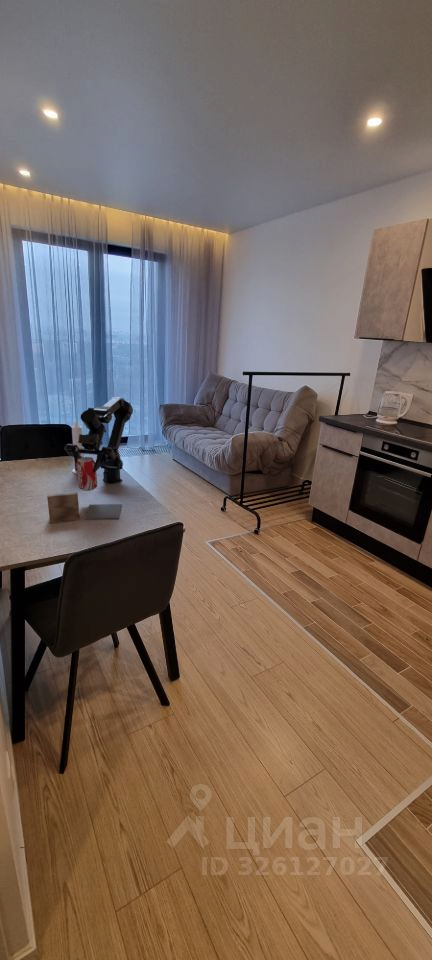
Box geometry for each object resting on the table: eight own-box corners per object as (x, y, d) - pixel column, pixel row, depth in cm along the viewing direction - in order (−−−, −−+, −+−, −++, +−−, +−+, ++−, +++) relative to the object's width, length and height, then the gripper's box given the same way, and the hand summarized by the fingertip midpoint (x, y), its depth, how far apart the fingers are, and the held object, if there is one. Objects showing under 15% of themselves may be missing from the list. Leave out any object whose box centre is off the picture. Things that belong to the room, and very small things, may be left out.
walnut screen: (79, 514, 144) (77, 492, 141) (79, 519, 140) (78, 496, 137) (49, 518, 140) (47, 495, 137) (49, 523, 136) (47, 499, 133)
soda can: (95, 491, 149) (92, 461, 145) (76, 492, 149) (73, 461, 145) (99, 485, 156) (97, 456, 152) (81, 485, 156) (78, 456, 152)
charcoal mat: (89, 505, 151) (89, 504, 151) (121, 505, 153) (121, 504, 153) (84, 519, 140) (84, 518, 140) (118, 519, 142) (118, 517, 142)
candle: (91, 470, 189) (87, 419, 180) (80, 475, 183) (76, 422, 174) (79, 468, 191) (76, 417, 183) (69, 472, 185) (64, 420, 177)
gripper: (64, 423, 149) (52, 459, 142) (111, 427, 147) (101, 464, 140) (75, 438, 159) (64, 472, 152) (120, 442, 157) (110, 477, 150)
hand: (84, 471), depth 149 cm, fingers closed on soda can, 7 cm apart
